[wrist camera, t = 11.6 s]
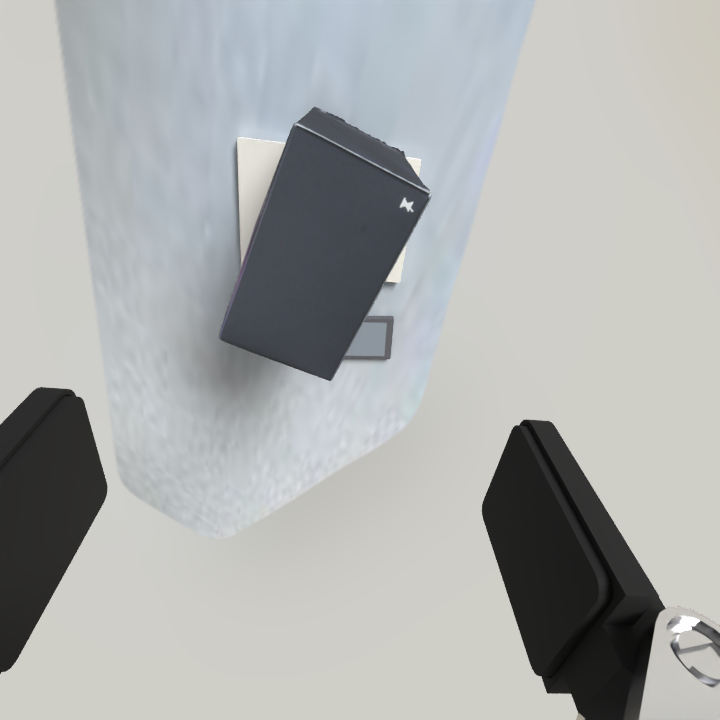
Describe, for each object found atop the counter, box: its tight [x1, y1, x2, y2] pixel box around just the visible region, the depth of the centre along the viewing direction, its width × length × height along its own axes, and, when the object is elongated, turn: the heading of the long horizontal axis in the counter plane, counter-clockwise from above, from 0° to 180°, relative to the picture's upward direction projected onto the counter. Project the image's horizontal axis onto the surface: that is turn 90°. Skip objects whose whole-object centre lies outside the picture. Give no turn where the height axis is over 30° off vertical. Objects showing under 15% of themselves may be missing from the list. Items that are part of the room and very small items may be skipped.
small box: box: [219, 107, 431, 381], centre depth 24 cm, size 11×6×10 cm, turn 155°
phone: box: [344, 316, 394, 359], centre depth 34 cm, size 4×7×1 cm, turn 88°
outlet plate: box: [237, 137, 421, 283], centre depth 29 cm, size 8×11×1 cm
